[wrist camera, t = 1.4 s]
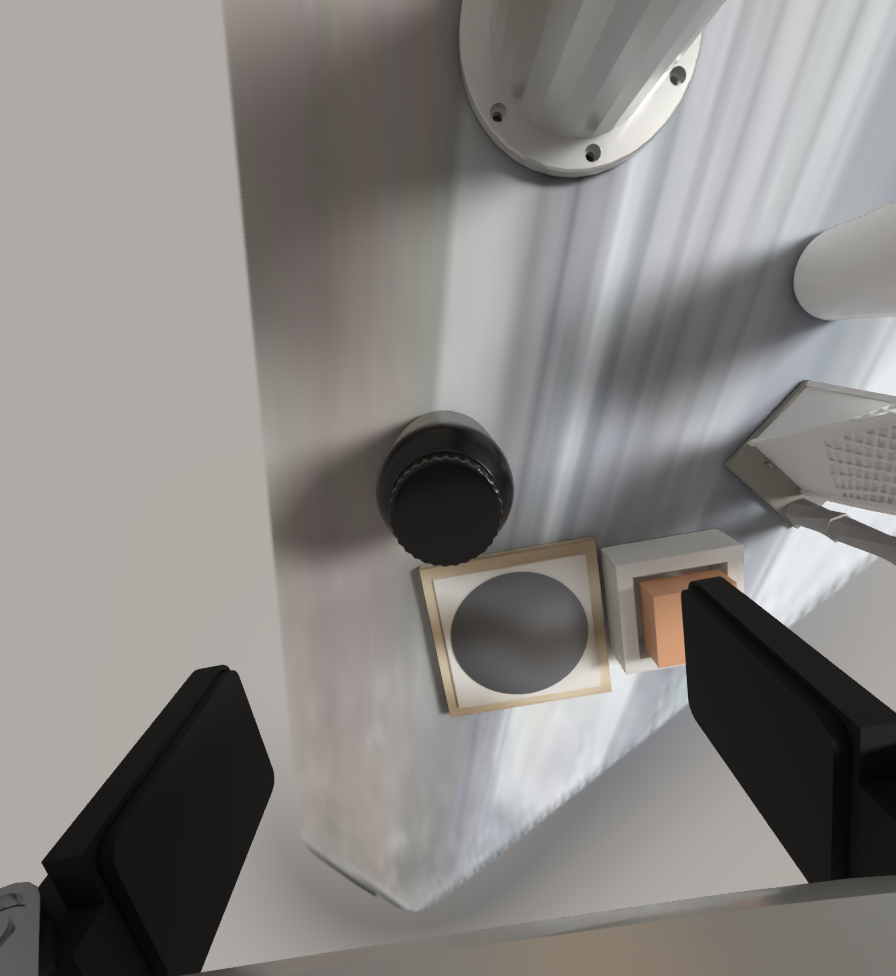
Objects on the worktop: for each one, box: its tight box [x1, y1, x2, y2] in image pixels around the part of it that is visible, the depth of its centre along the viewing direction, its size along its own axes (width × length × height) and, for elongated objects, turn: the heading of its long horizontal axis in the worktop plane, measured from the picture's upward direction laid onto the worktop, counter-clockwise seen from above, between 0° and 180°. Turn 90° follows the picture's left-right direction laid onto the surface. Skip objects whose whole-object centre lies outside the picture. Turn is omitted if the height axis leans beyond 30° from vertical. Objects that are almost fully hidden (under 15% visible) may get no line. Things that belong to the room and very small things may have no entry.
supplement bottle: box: [376, 411, 514, 567], centre depth 25 cm, size 7×7×12 cm
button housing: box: [600, 528, 744, 674], centre depth 32 cm, size 8×8×3 cm
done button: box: [640, 569, 737, 668], centre depth 30 cm, size 5×5×2 cm
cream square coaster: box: [419, 536, 612, 717], centre depth 34 cm, size 12×12×1 cm
